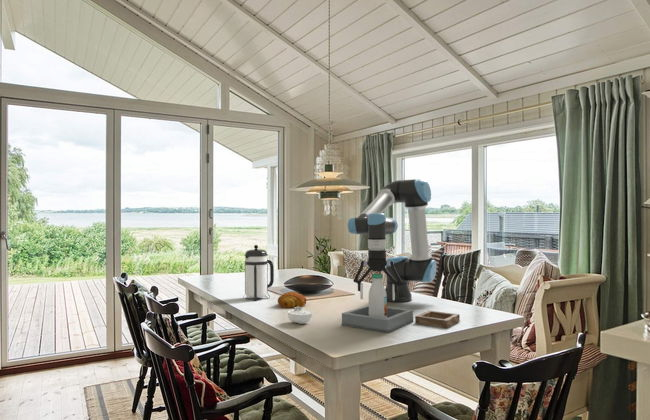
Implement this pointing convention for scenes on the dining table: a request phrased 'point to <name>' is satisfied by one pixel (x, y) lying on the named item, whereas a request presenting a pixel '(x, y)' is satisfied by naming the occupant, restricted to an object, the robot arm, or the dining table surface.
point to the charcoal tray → (377, 319)
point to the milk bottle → (377, 297)
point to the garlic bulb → (299, 315)
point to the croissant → (291, 300)
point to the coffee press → (257, 273)
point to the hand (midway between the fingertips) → (377, 299)
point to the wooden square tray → (437, 319)
